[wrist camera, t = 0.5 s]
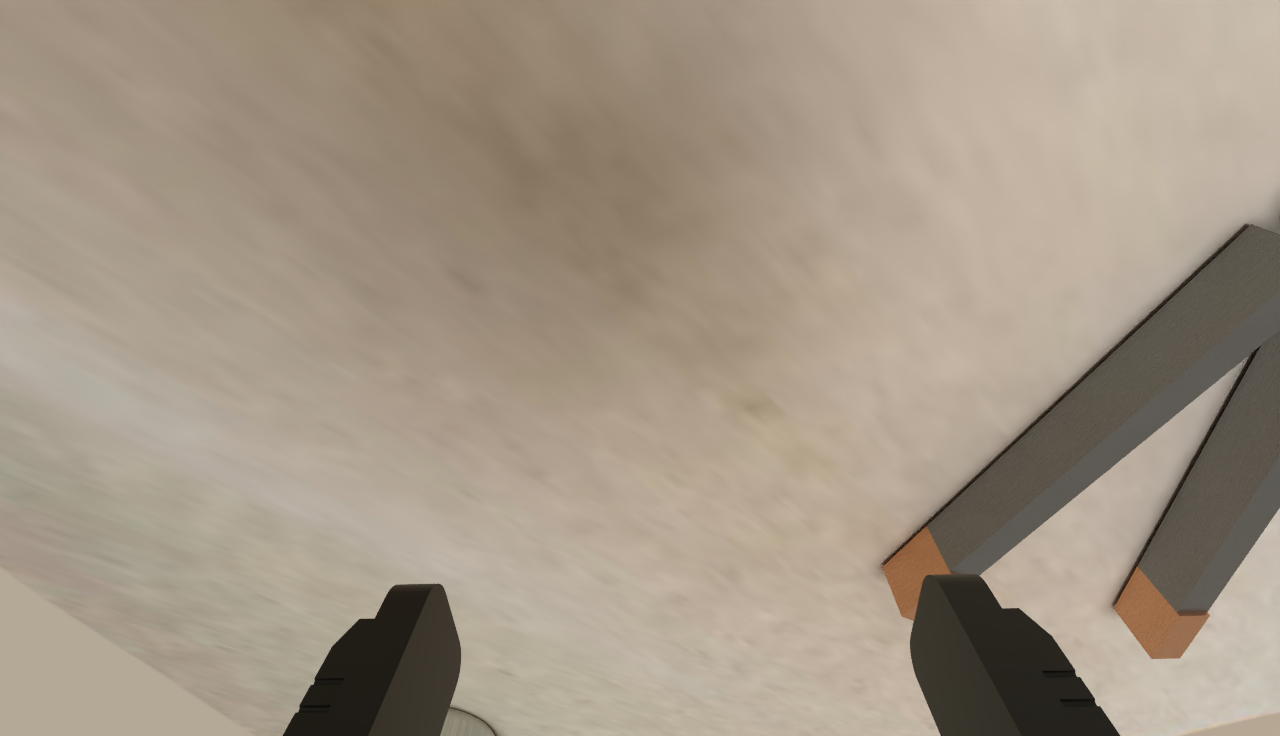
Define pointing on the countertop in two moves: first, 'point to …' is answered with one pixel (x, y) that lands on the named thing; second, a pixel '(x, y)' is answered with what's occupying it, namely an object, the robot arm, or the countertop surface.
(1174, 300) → the tongs arm
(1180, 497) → the base
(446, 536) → the countertop surface
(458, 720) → the ramekin
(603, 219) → the countertop surface
